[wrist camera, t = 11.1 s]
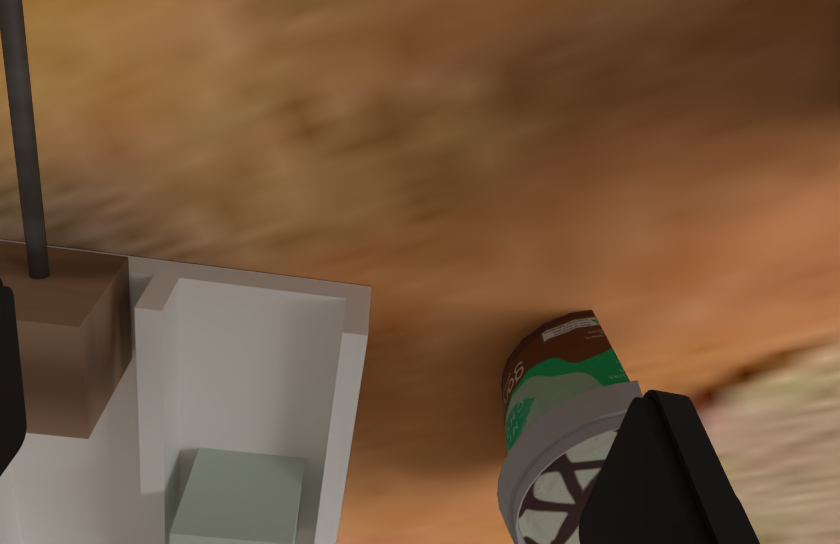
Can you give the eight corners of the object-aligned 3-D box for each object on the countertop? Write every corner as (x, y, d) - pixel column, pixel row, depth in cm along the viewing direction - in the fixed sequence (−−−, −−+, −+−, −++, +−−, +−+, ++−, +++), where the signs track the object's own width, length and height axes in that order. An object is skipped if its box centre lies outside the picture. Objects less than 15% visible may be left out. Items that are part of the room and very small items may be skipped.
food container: (476, 295, 38) (499, 423, 29) (593, 286, 38) (651, 412, 29) (484, 466, 44) (505, 615, 35) (584, 459, 44) (630, 606, 35)
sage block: (199, 447, 40) (169, 533, 35) (305, 458, 41) (292, 544, 36) (197, 521, 43) (170, 610, 38) (297, 530, 44) (283, 619, 39)
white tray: (-33, 235, 35) (-87, 281, 31) (371, 286, 37) (368, 335, 33) (16, 539, 46) (-20, 602, 42) (328, 566, 48) (322, 629, 44)
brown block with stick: (-67, -207, 25) (-190, -227, 20) (111, -174, 26) (36, -184, 20) (10, 344, 36) (-55, 424, 31) (132, 358, 37) (88, 438, 32)
